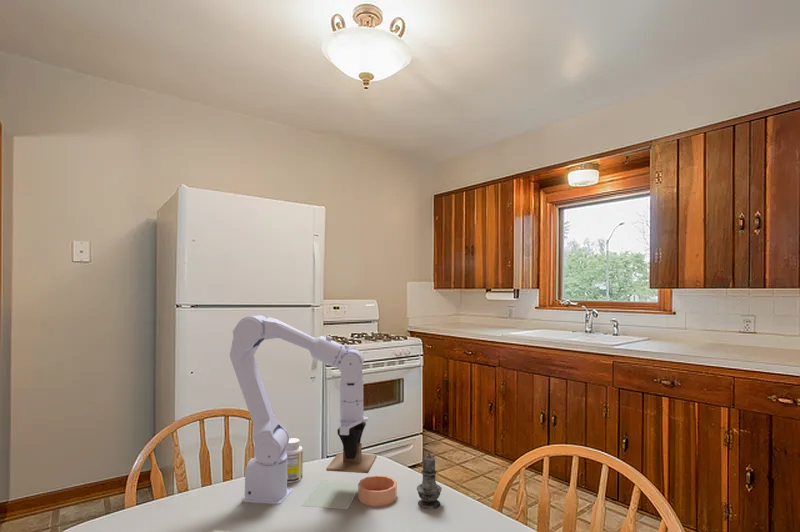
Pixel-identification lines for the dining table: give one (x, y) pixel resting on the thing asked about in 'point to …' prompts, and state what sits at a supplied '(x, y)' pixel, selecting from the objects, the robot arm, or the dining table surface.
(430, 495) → the salt shaker
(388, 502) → the terracotta bowl
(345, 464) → the walnut lid
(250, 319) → the robot arm
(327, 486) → the sage rubber mat
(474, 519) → the dining table surface
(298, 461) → the supplement bottle
